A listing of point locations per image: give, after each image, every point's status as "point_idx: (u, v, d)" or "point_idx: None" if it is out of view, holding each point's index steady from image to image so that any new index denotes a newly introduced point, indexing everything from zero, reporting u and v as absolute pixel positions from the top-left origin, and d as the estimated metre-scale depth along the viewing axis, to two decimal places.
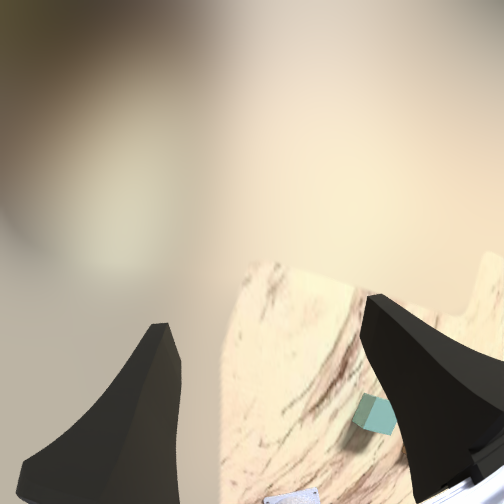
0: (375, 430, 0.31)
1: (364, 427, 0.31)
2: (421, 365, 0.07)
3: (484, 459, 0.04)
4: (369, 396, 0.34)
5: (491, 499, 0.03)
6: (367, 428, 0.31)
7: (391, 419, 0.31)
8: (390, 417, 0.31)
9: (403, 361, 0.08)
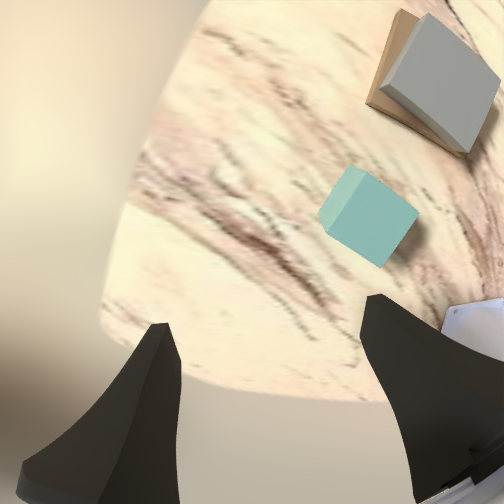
0: (395, 243, 0.17)
1: (379, 265, 0.18)
2: (421, 365, 0.07)
3: (484, 459, 0.04)
4: None
5: (491, 499, 0.03)
6: (384, 259, 0.18)
7: (387, 206, 0.17)
8: (383, 208, 0.17)
9: (402, 361, 0.08)
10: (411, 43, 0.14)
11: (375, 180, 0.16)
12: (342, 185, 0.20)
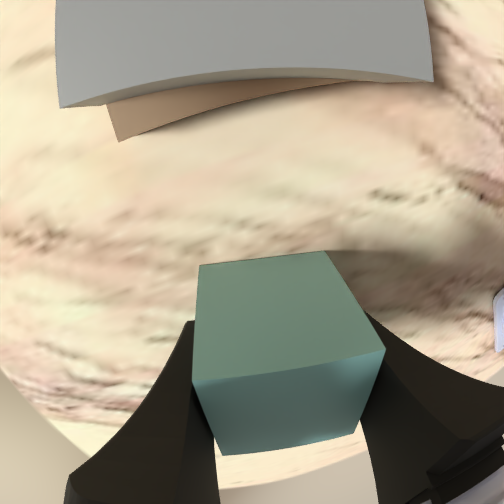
0: (359, 407, 0.07)
1: (348, 433, 0.08)
2: (382, 377, 0.07)
3: (445, 483, 0.04)
4: None
5: (491, 499, 0.03)
6: (351, 426, 0.08)
7: (296, 392, 0.07)
8: (289, 399, 0.07)
9: None
10: None
11: (226, 381, 0.06)
12: None
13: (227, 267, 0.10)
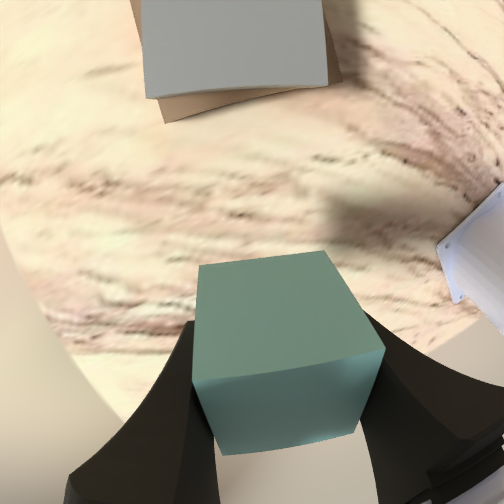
0: (359, 406, 0.07)
1: (348, 432, 0.08)
2: (382, 377, 0.07)
3: (445, 483, 0.04)
4: None
5: (491, 499, 0.03)
6: (351, 425, 0.08)
7: (296, 392, 0.07)
8: (289, 399, 0.07)
9: None
10: (142, 15, 0.09)
11: (226, 381, 0.06)
12: None
13: (227, 267, 0.10)
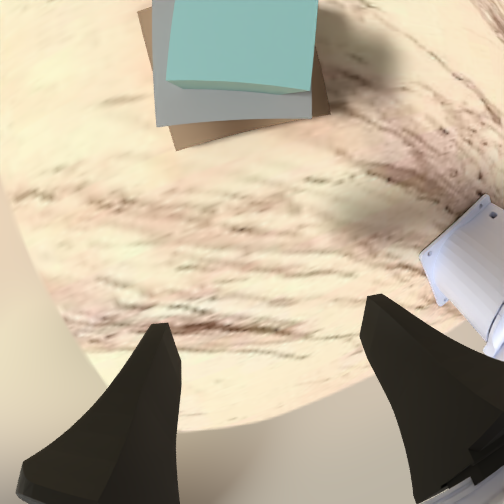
0: (309, 36, 0.07)
1: (304, 85, 0.08)
2: (421, 365, 0.07)
3: (484, 459, 0.04)
4: (181, 85, 0.10)
5: (491, 499, 0.03)
6: (306, 71, 0.08)
7: None
8: None
9: (402, 361, 0.08)
10: (153, 51, 0.11)
11: None
12: None
13: None
